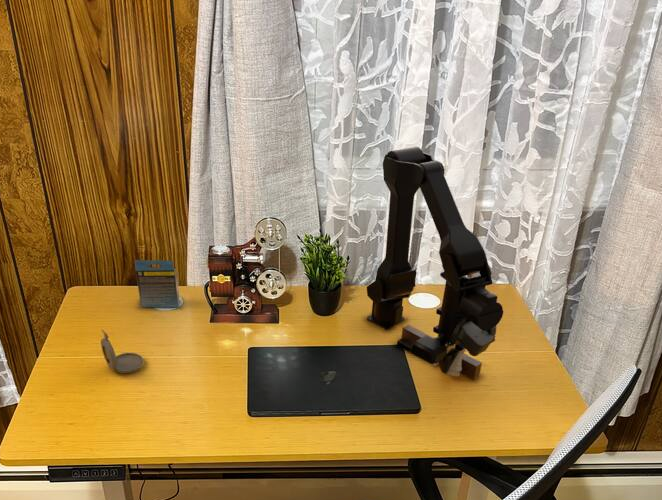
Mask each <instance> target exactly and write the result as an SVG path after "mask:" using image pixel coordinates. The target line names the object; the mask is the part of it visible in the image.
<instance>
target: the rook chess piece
mask: <svg viewBox="0 0 662 500" xmlns="http://www.w3.org/2000/svg"><path fill="white" fill-rule="evenodd" d="M465 352H467V350H466V349H463V350H461V351H459V353H458V354H457V356H456V358H455V359H454V361H453V363H452V365H451V367H450V368H449V370H448V372H447V373H446V374H447V375H449V376H452V377H459V376H461V373H460V371H462V367H461V365H462V364H461V362H462V357H463V354H465ZM446 374H445V375H446Z"/></svg>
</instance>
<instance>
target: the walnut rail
mask: <svg viewBox="0 0 662 500" xmlns="http://www.w3.org/2000/svg"><path fill="white" fill-rule="evenodd" d="M426 335H427V336H429V337H431V338H434V337H433V336H431V335H430V334H427V333H426V332H424V331H422V330H419V329H418V328H416V327H414V326H412V325H410V324H407V325H405V326H403V327H402V330H401V337H400V339H402V338H403V339H405V340H407V341H409V342H411V343H413V342H415V341H417V340H419V339H420V338H422V337H424V336H426ZM461 364H462V365H461V367H462V371H460V374H462V375H464V376H466V377H467V378H469V379H471V380H476V379H477V378H479V377H480V373H481V370H482V366H483V365H482V364H483V362H481V361H479V360H478V359H476V358H474V357H473V356H472V357H471V355H468V354H466V353H464V354H463V357H462V362H461Z"/></svg>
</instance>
